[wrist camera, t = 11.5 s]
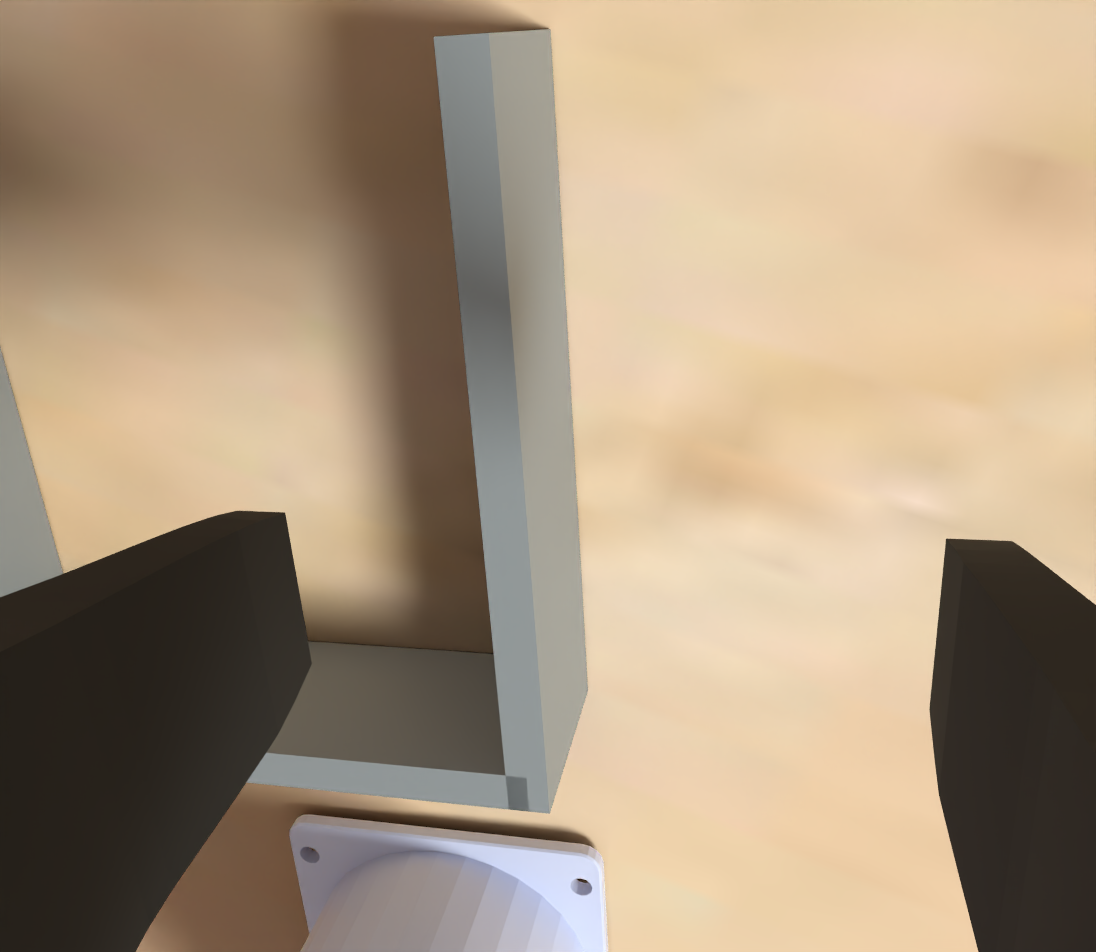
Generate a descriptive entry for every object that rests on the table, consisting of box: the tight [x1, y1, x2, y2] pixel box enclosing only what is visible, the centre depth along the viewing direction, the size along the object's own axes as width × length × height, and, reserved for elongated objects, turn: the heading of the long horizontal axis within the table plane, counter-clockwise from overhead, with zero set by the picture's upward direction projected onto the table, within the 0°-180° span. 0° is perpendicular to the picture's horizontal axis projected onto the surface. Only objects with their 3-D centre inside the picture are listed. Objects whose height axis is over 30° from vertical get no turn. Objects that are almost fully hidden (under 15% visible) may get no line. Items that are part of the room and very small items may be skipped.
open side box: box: [0, 29, 588, 814], centre depth 20 cm, size 14×14×4 cm
